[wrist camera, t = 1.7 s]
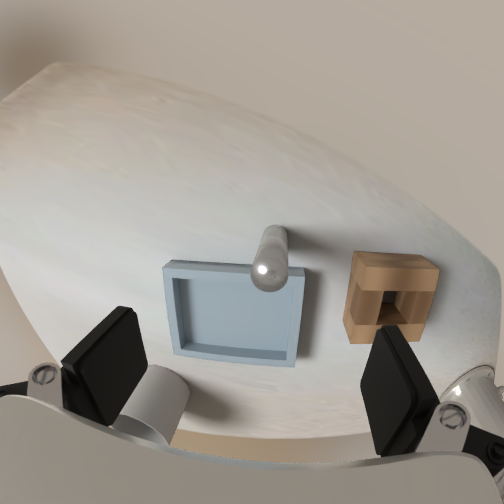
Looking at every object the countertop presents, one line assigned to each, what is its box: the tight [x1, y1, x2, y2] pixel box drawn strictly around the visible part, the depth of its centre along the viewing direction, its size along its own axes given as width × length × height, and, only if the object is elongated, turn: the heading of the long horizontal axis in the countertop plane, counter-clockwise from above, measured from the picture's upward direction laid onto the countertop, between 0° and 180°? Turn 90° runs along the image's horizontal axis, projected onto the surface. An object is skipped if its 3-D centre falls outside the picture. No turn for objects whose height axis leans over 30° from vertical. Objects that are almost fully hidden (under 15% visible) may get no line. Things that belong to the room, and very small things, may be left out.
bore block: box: [343, 251, 440, 344], centre depth 25 cm, size 8×8×5 cm
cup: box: [111, 365, 190, 446], centre depth 30 cm, size 8×8×10 cm
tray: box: [162, 260, 305, 367], centre depth 29 cm, size 14×11×2 cm
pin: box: [250, 225, 288, 292], centre depth 22 cm, size 2×2×10 cm
